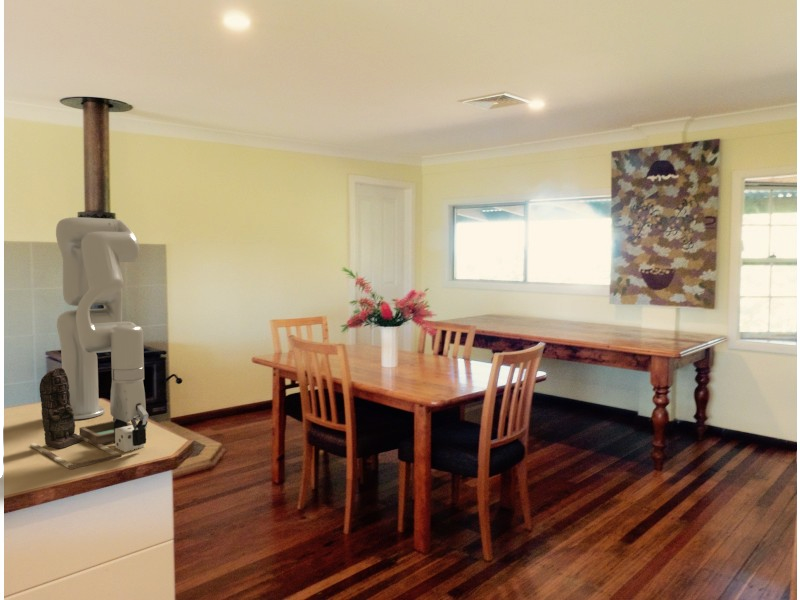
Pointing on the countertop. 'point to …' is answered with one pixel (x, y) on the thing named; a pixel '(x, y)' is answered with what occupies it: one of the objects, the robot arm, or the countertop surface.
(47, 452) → the brown rectangular frame
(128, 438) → the die
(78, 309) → the robot arm
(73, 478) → the countertop surface
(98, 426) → the dice tray
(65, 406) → the statue
